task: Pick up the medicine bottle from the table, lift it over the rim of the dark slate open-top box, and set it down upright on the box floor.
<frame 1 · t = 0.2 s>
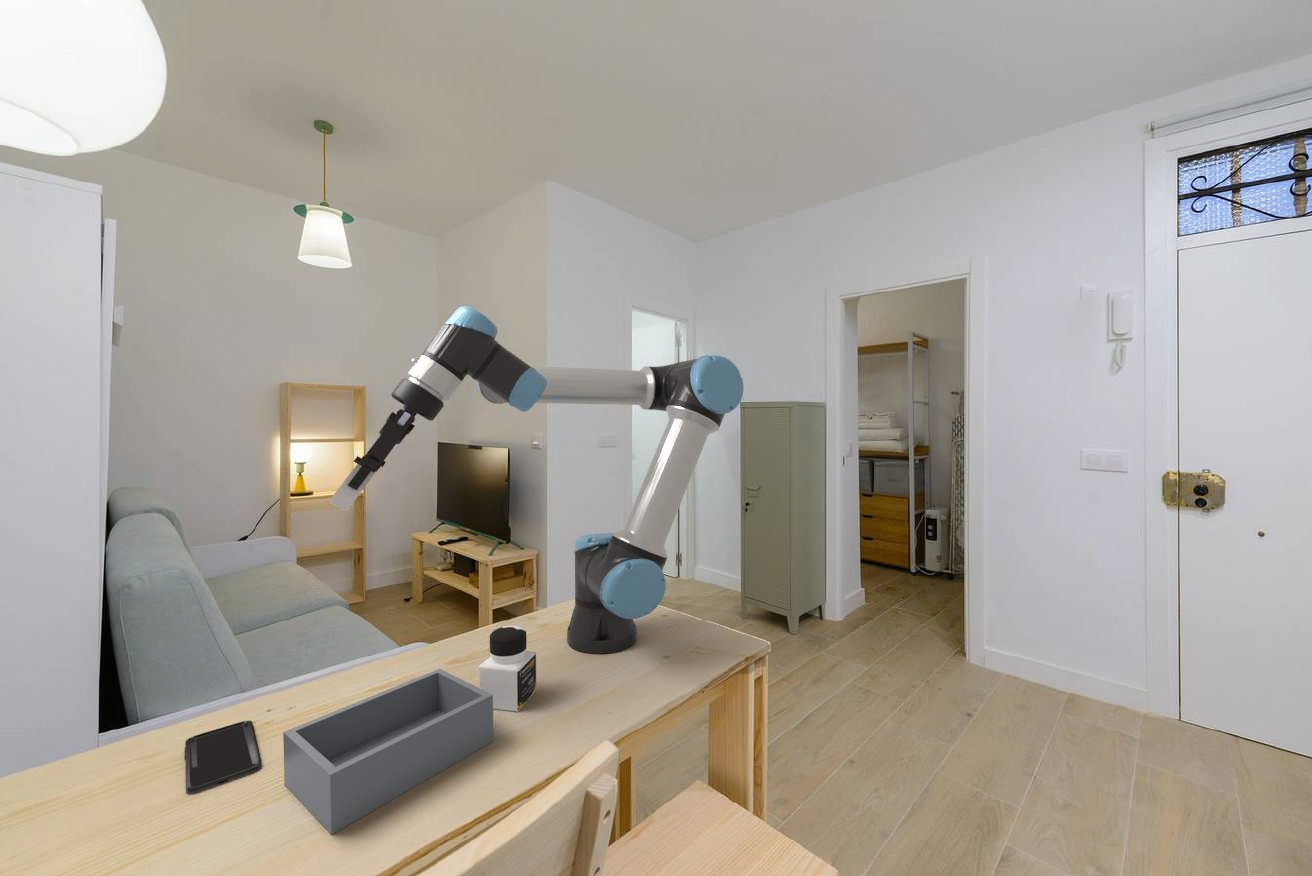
hand: (342, 500, 82), 35 cm above the table, tool tilted 35°, fingers open, 13 cm apart
medicine bottle: (508, 700, 90), on the table
phone: (222, 760, 74), on the table
slate box: (395, 761, 73), on the table
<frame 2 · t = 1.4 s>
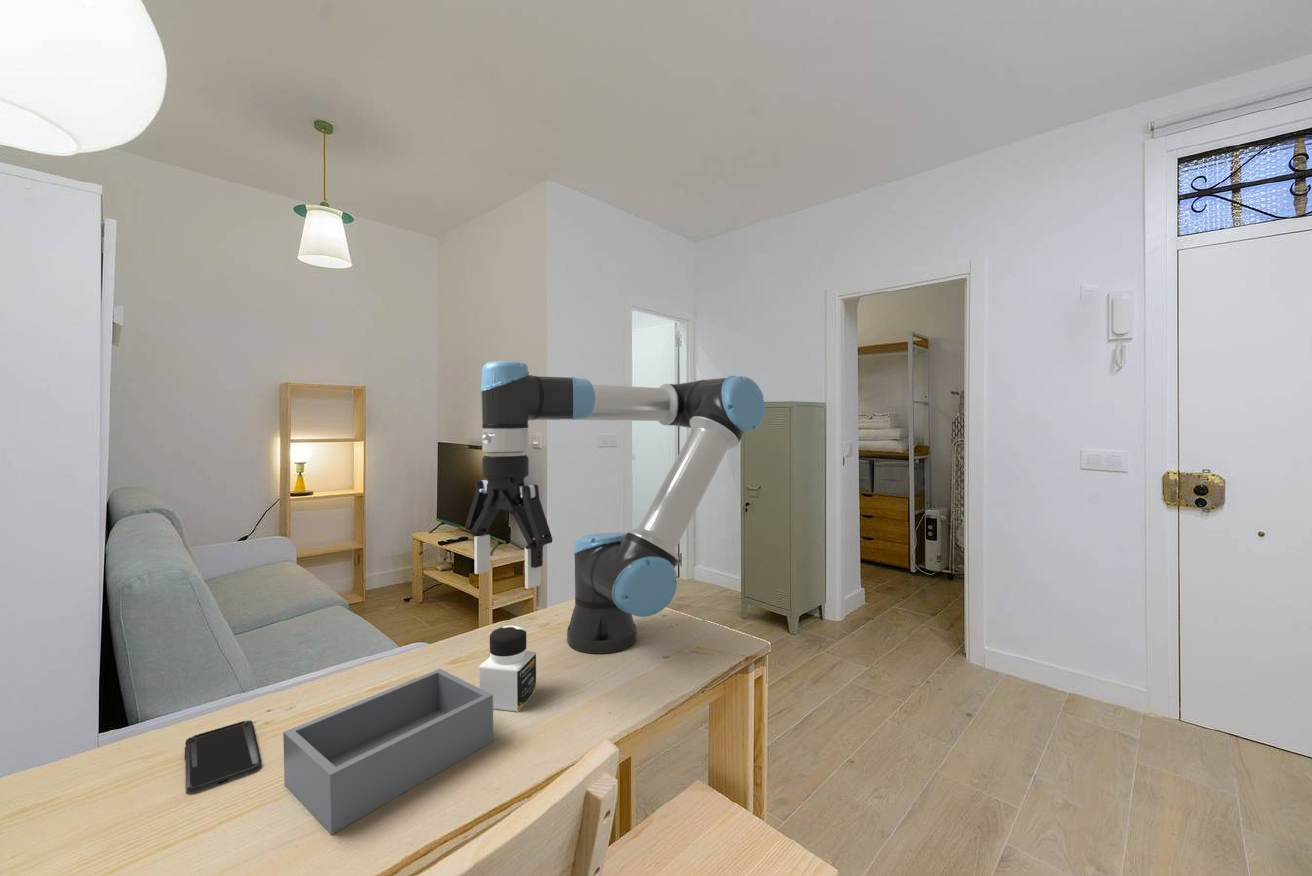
hand: (506, 579, 89), 21 cm above the table, tool pointing down, fingers open, 13 cm apart
nothing on the table moved.
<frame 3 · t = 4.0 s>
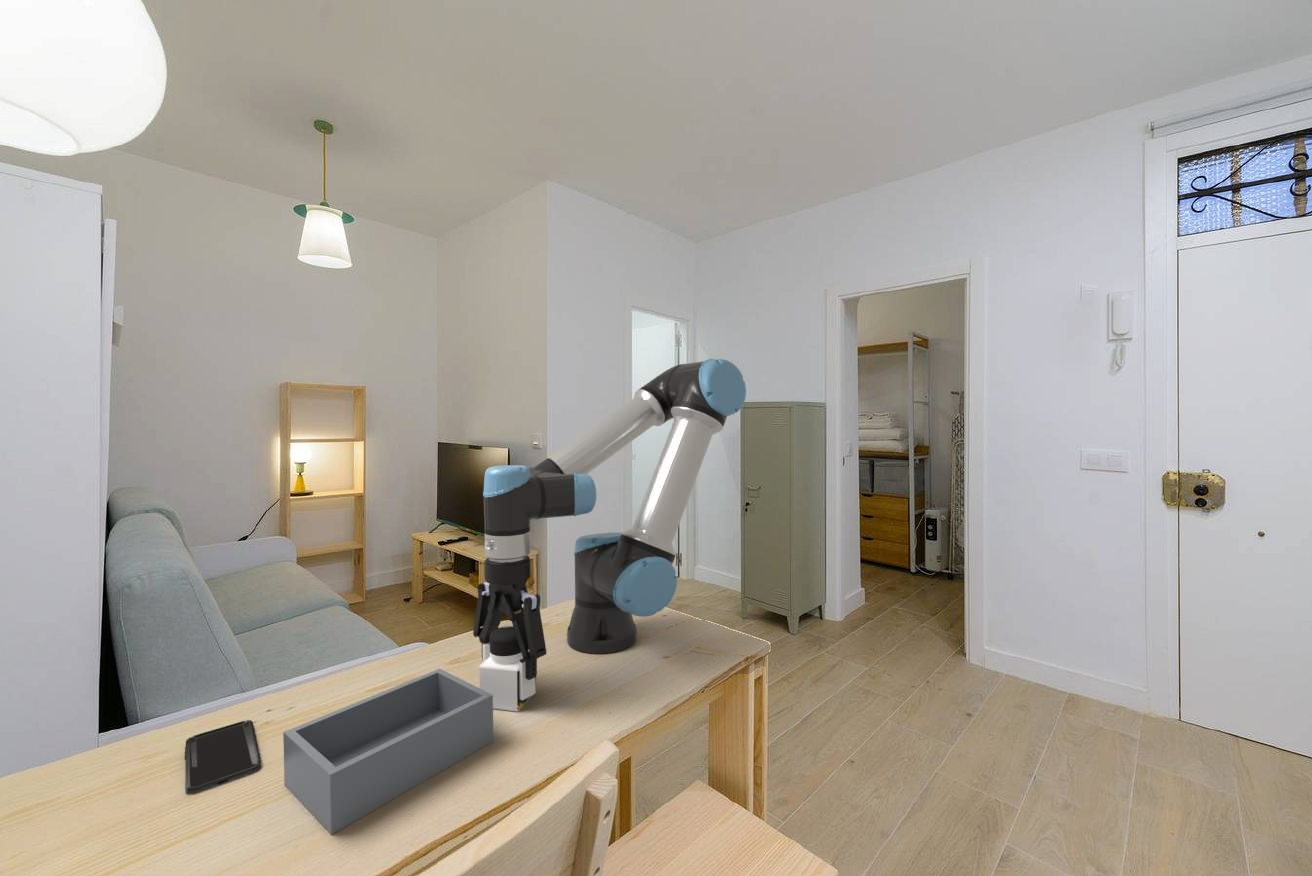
hand: (508, 687, 90), 2 cm above the table, tool pointing down, fingers closed on medicine bottle, 9 cm apart
medicine bottle: (508, 700, 90), on the table, touching gripper
everything else where it was.
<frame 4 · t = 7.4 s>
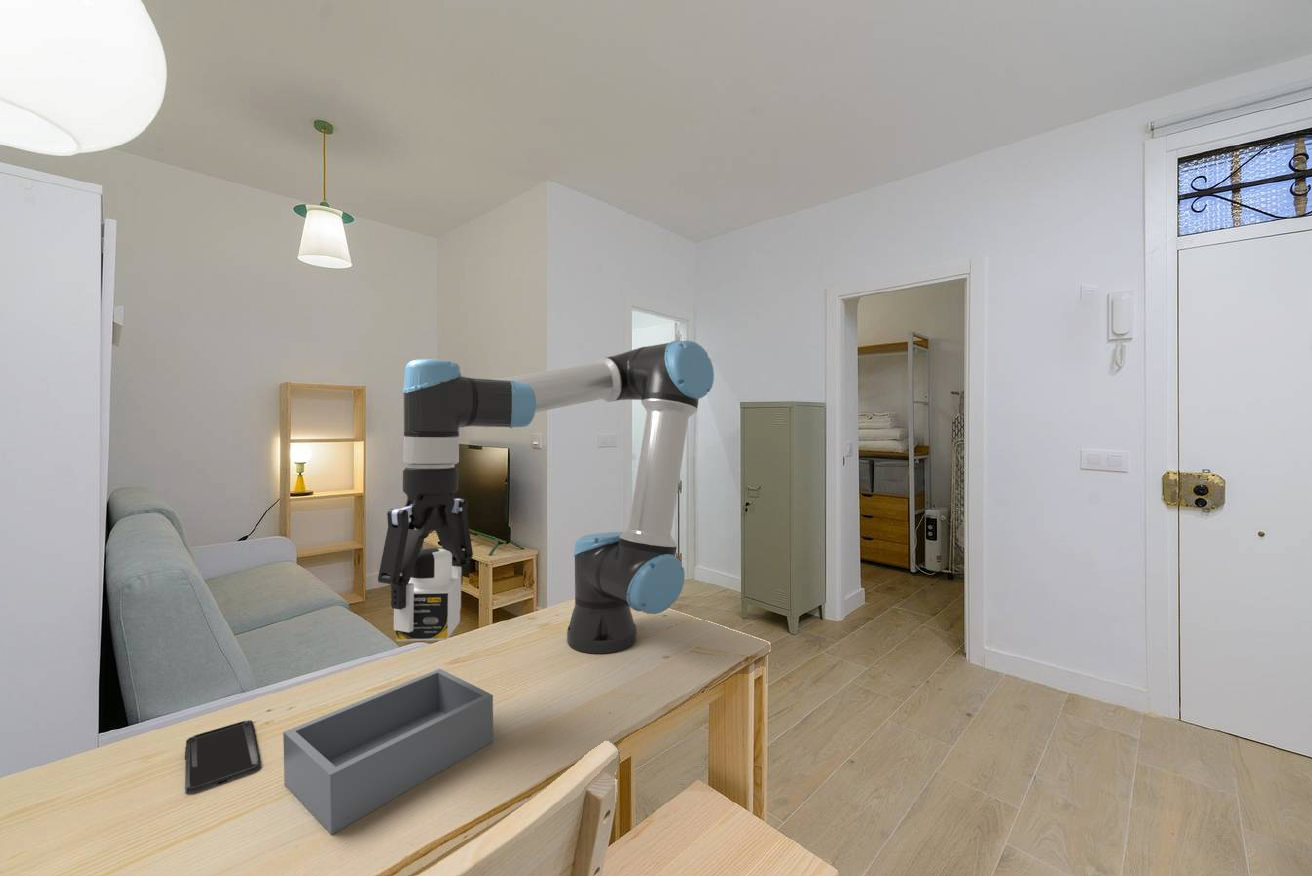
hand: (429, 618, 77), 18 cm above the table, tool pointing down, fingers closed on medicine bottle, 9 cm apart
medicine bottle: (429, 633, 78), point 16 cm above the table, touching gripper
everything else where it was.
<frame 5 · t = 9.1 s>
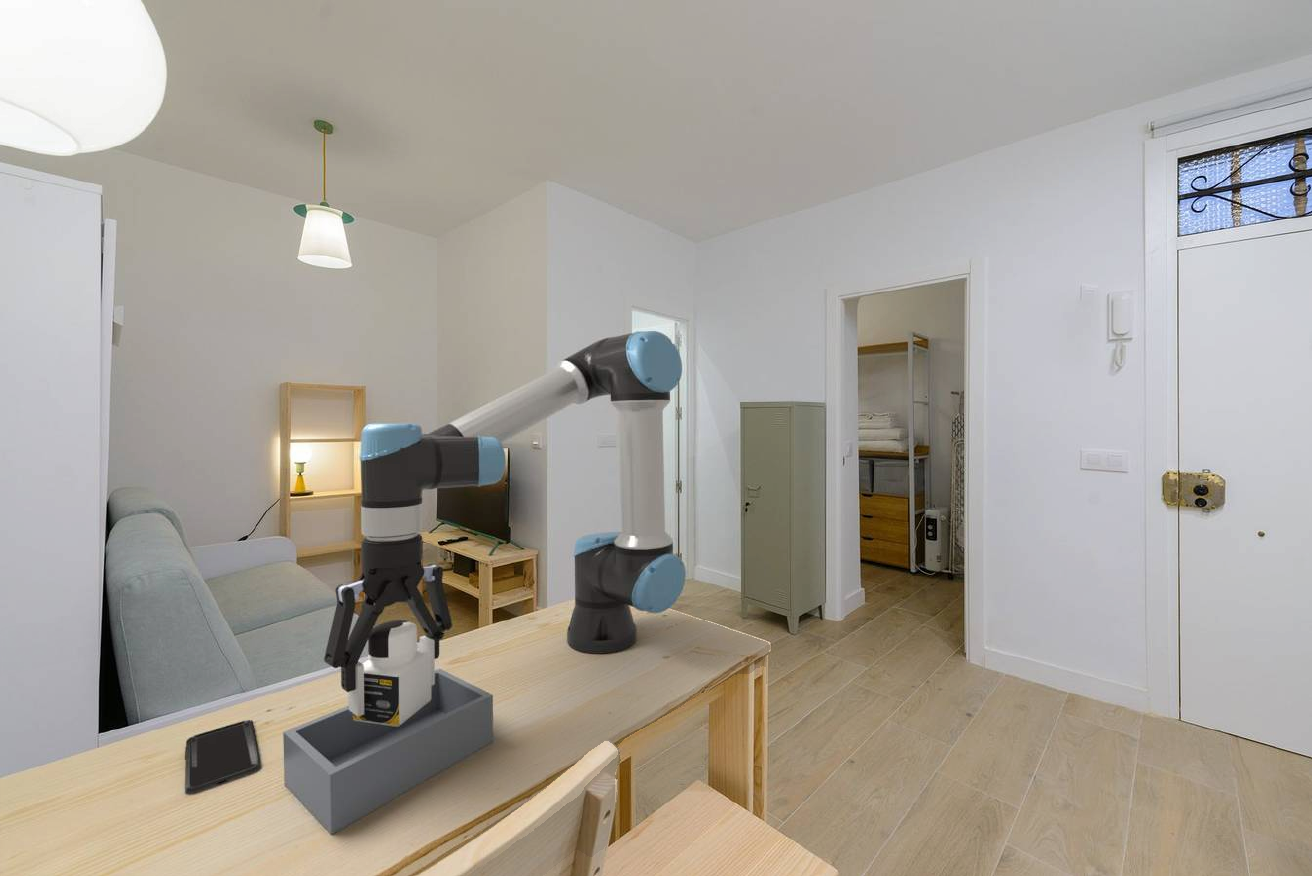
hand: (393, 696, 73), 9 cm above the table, tool pointing down, fingers closed on medicine bottle, 9 cm apart
medicine bottle: (393, 712, 73), point 7 cm above the table, touching gripper
everything else where it was.
when the fingers open (4 cm above the table, at t = 10.6 s): medicine bottle drops 1 cm, resting on slate box.
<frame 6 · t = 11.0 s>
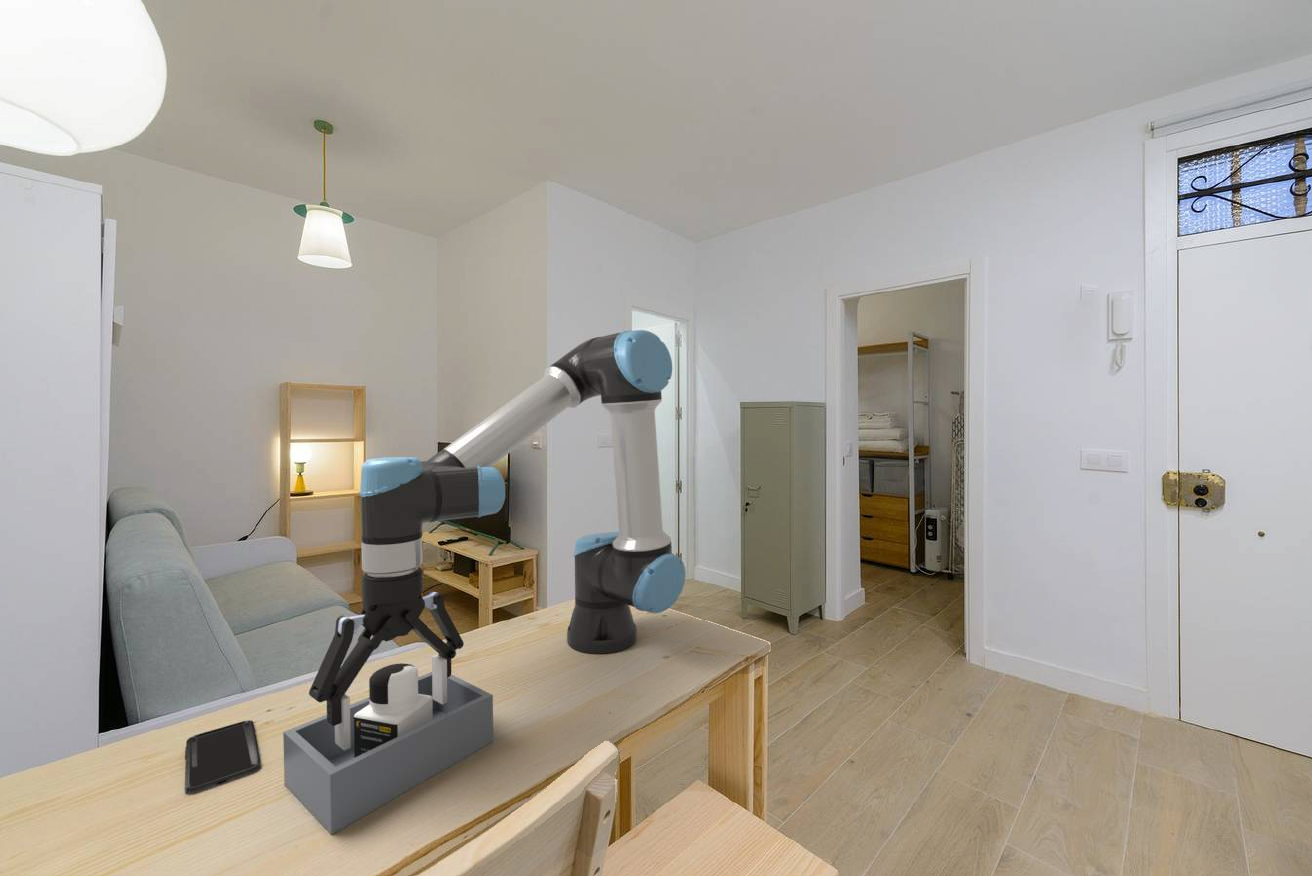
hand: (394, 721, 73), 6 cm above the table, tool pointing down, fingers open, 13 cm apart
medicine bottle: (395, 756, 73), point 1 cm above the table, touching slate box
everything else where it was.
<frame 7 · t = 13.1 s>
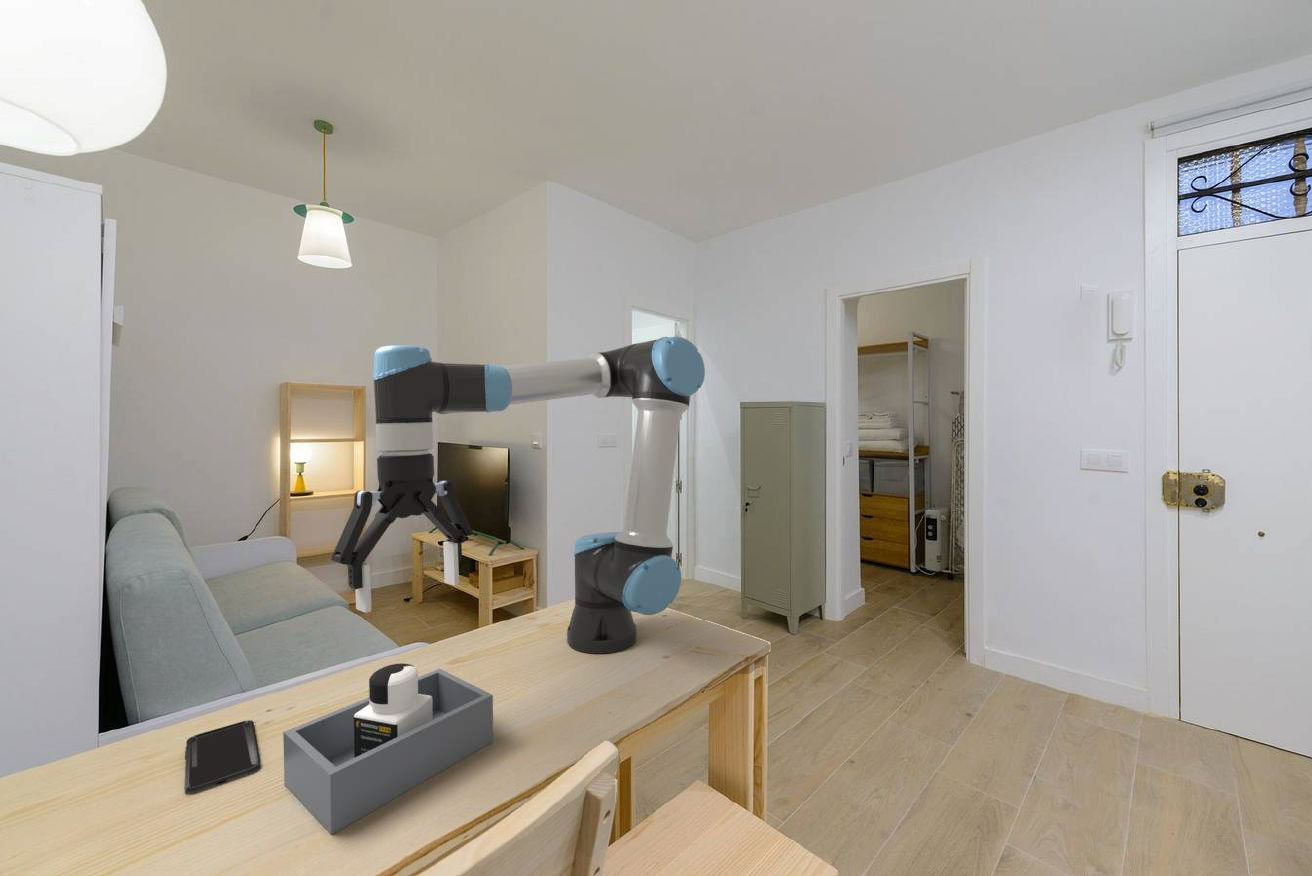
hand: (410, 596, 78), 22 cm above the table, tool pointing down, fingers open, 13 cm apart
nothing on the table moved.
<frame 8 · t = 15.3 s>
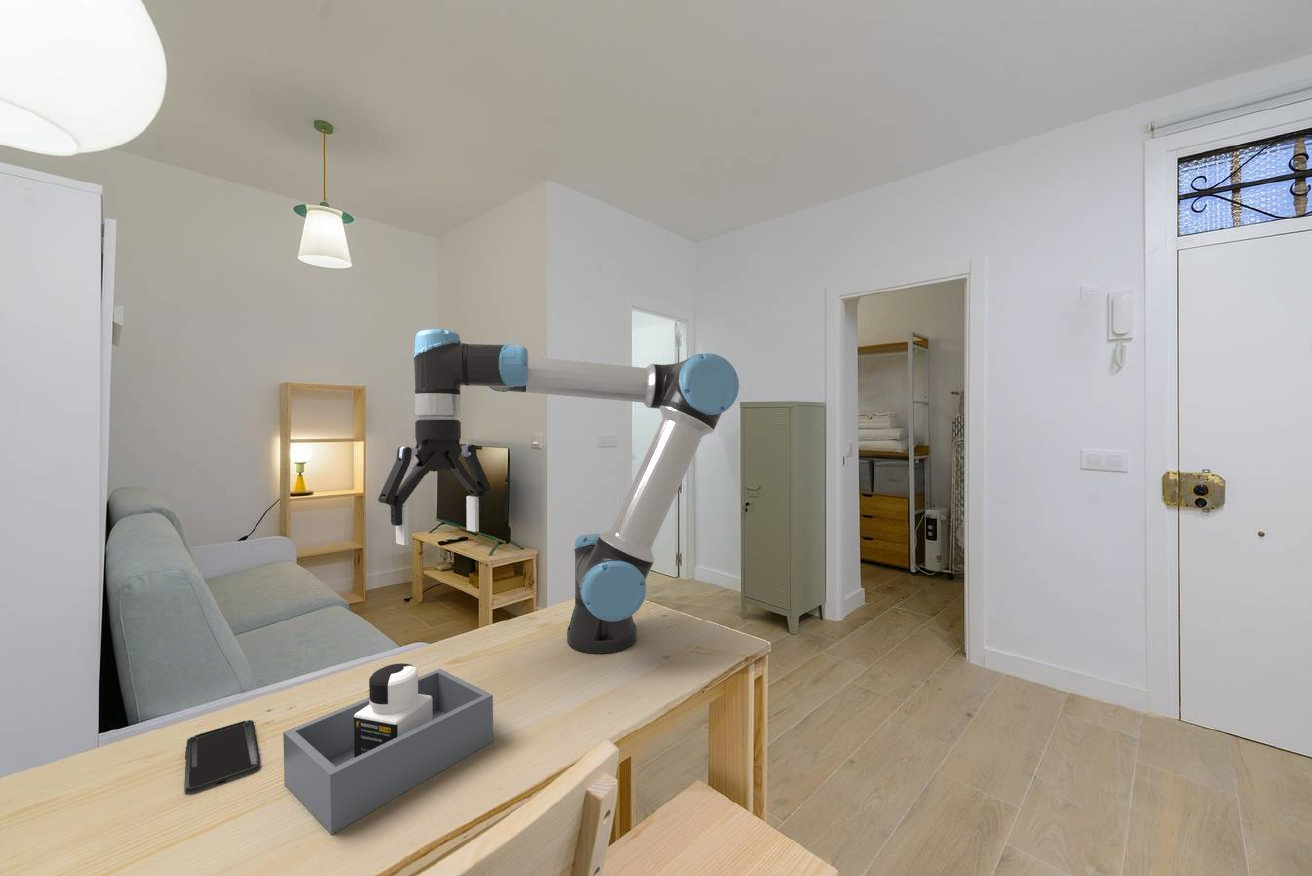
hand: (439, 537, 94), 27 cm above the table, tool pointing down, fingers open, 13 cm apart
nothing on the table moved.
at the end: medicine bottle inside the target area on the slate box (0.0 cm from its centre), point 0.8 cm above the slate box's base; medicine bottle tilted 0°; the gripper is holding nothing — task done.
